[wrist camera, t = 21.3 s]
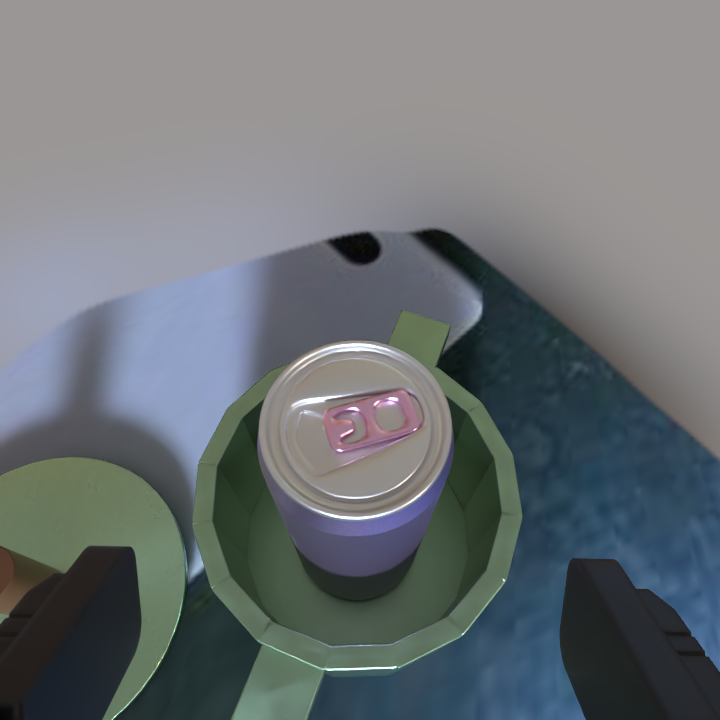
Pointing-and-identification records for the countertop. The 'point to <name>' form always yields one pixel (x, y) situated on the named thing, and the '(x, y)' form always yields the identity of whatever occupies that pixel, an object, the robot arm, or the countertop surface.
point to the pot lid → (95, 528)
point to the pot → (338, 615)
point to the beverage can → (356, 461)
